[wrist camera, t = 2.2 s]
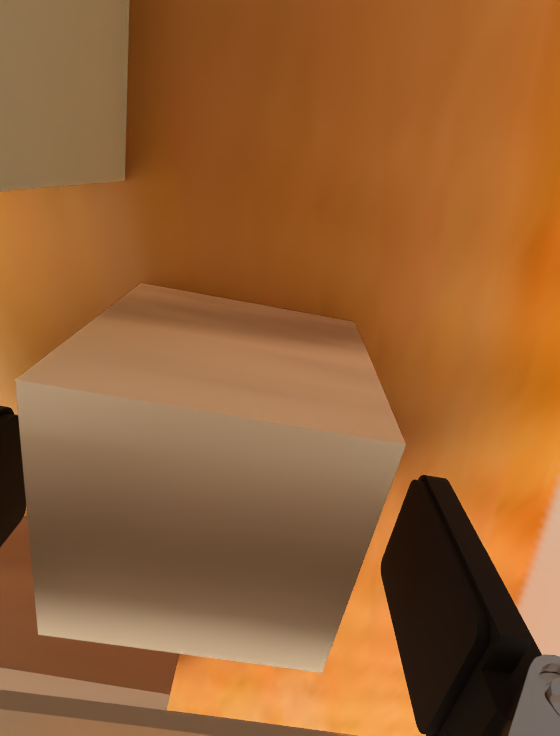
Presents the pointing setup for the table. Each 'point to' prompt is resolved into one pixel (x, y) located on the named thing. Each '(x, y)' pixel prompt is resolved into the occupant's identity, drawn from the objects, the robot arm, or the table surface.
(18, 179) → the sage block
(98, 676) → the walnut base
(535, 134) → the table surface
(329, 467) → the maple block
